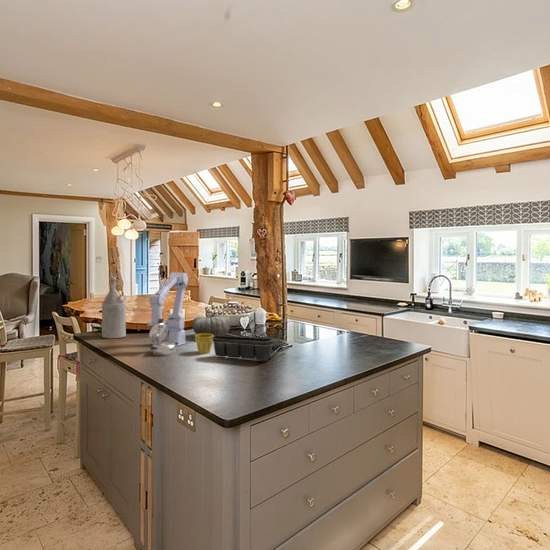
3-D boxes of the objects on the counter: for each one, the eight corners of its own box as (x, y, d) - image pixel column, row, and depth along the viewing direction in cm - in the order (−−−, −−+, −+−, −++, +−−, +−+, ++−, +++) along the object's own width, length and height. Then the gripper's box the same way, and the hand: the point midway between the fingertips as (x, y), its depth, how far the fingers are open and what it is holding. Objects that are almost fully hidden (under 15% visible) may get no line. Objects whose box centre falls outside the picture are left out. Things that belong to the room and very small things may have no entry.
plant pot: (209, 355, 217) (209, 337, 217) (192, 353, 219) (192, 336, 219) (216, 350, 227) (216, 334, 227) (199, 349, 229) (199, 333, 229)
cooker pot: (169, 348, 230) (170, 340, 229) (183, 352, 223) (183, 343, 222) (144, 354, 216) (144, 345, 216) (158, 357, 209) (158, 348, 209)
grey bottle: (117, 339, 251) (118, 277, 249) (96, 337, 257) (96, 276, 255) (131, 336, 263) (131, 276, 261) (111, 334, 269) (111, 276, 267)
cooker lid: (166, 341, 227) (165, 340, 228) (170, 318, 225) (169, 317, 225) (148, 344, 218) (147, 343, 218) (152, 320, 215) (151, 319, 216)
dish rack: (208, 358, 210) (208, 336, 210) (239, 342, 252) (239, 323, 252) (269, 365, 200) (269, 341, 200) (290, 346, 243) (291, 327, 242)
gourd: (221, 338, 249) (218, 311, 251) (186, 341, 256) (184, 315, 258) (236, 335, 273) (234, 310, 274) (204, 338, 280) (202, 314, 281)
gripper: (142, 315, 224) (142, 338, 224) (158, 318, 215) (158, 342, 216) (153, 313, 229) (153, 337, 230) (169, 316, 221) (169, 340, 221)
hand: (156, 339), depth 223 cm, fingers closed, pressing on cooker lid
